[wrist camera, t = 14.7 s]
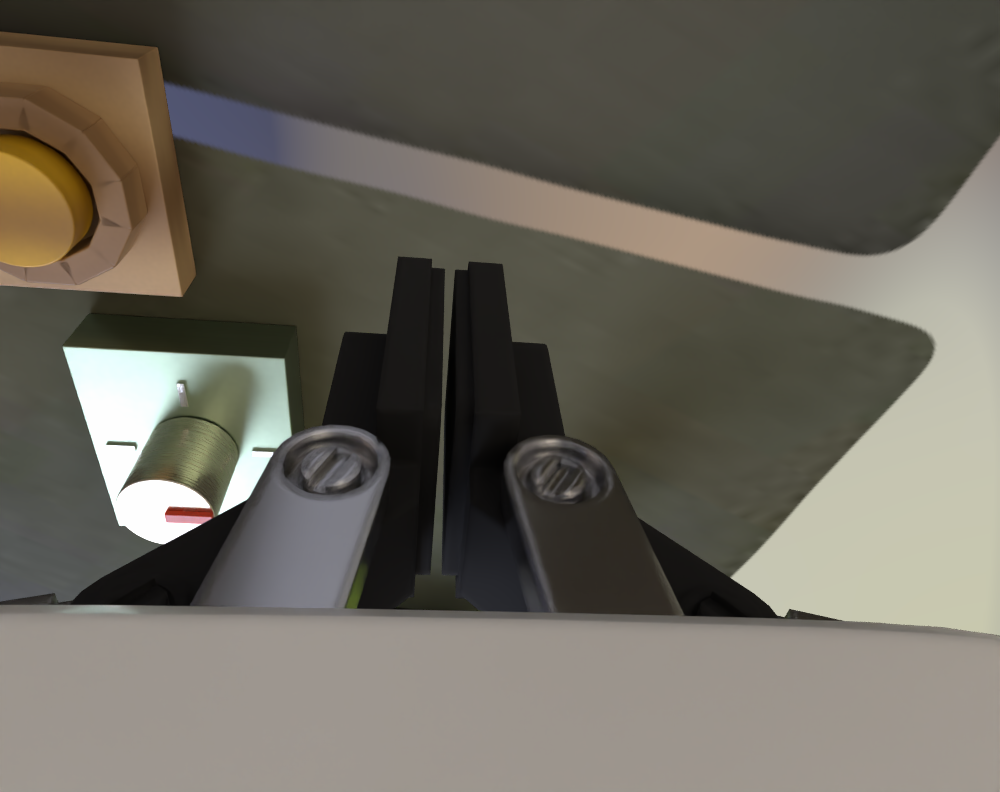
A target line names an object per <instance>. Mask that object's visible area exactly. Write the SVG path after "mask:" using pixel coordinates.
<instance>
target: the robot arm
mask: <svg viewBox="0 0 1000 792" xmlns="http://www.w3.org/2000/svg"><path fill="white" fill-rule="evenodd" d="M444 281H445V269H440V268H432V259H426V258H412V257H398V262H397V269H396V276H395V282H394V289H393V296H392V303H391V310H390V317H389V324H388V331H387V334H374V333H358V332H345V333H344V336H343V339H342V343H341V348H340V352H339V356H338V360H337V364H336V369H335V373H334V377H333V381H332V385H331V390H330V394H329V398H328V402H327V406H326V411H325V415H324V419H323V423H322V426H318V427H312V428H309V429H306V430H303V431H301V432H298V433H295V434H294V435H292V436H291V437H289V438H288V439H286V440H285V441H283V442H282V443H281V444H280V446H279V447H278V448H277V449H276V451H275V452H274V453H273V455H272V456H271V458H270V460H269V462H268V464H267V465H266V467H265V469H264V471H263V473H262V475H261V476H260V478H259V480H258V482H257V484H256V486H255V487H254V489H253V491H252V493H251V495H250V497H249V498H248V499H247V500H245V501H243V502H242V503H240V504H238V505H236V506H234V507H232V508H230V509H229V510H227V511H225V512H223V513H221V514H219V515H217V516H216V517H214V518H212V519H210V520H208V521H206V522H204V523H203V524H201V525H199V526H197V527H195V528H193V529H191V530H189V531H188V532H186V533H184V534H182V535H180V536H178V537H176V538H175V539H173V540H171V541H169V542H167V543H165V544H163V545H162V546H160V547H158V548H156V549H154V550H152V551H150V552H149V553H147V554H145V555H143V556H141V557H139V558H137V559H136V560H134V561H132V562H130V563H128V564H126V565H124V566H123V567H121V568H119V569H117V570H115V571H113V572H111V573H110V574H108V575H106V576H104V577H102V578H101V579H99V580H98V581H96V582H95V583H93V584H92V585H90V586H89V587H87V588H86V589H84V590H83V591H81V593H80V594H79V595H78V596H77V597H76V598H75V599H74V600H73V601H66V602H60V603H59V602H58V600H57V598H56V595H55V593H53V594H47V595H40V596H34V597H27V598H21V599H14V600H8V601H1V602H0V792H1000V636H999V635H993V634H985V633H978V632H971V631H964V630H957V629H951V628H944V627H931V626H914V625H898V624H886V623H871V622H852V621H842V620H837V619H832V618H828V617H823V616H819V615H814V614H810V613H805V612H801V611H796V610H791V609H789V611H788V613H787V615H786V616H785V617H781V616H777V615H776V614H775V613H774V612H773V610H772V609H771V608H770V606H769V605H767V604H766V603H765V602H764V601H762V600H761V599H760V598H759V597H757V596H756V595H755V594H754V593H752V592H751V591H749V590H748V589H746V588H745V587H743V586H742V585H740V584H738V583H737V582H735V581H734V580H733V579H731V578H729V577H728V576H726V575H725V574H723V573H722V572H720V571H719V570H717V569H716V568H714V567H713V566H711V565H710V564H708V563H707V562H705V561H703V560H702V559H700V558H699V557H697V556H696V555H694V554H693V553H691V552H690V551H688V550H687V549H685V548H684V547H682V546H680V545H679V544H677V543H676V542H674V541H673V540H671V539H670V538H668V537H667V536H665V535H664V534H662V533H661V532H659V531H658V530H656V529H654V528H653V527H651V526H650V525H648V524H647V523H645V522H644V521H642V520H641V519H639V518H638V517H637V515H636V513H635V511H634V509H633V507H632V505H631V503H630V501H629V499H628V496H627V494H626V492H625V490H624V488H623V486H622V484H621V482H620V480H619V478H618V476H617V473H616V471H615V469H614V468H613V466H612V465H611V463H610V462H609V460H608V459H607V458H606V456H604V455H603V454H602V453H601V452H599V451H598V450H597V449H596V448H594V447H593V446H591V445H589V444H586V443H584V442H582V441H580V440H578V439H574V438H570V437H566V436H565V434H564V429H563V424H562V419H561V413H560V408H559V403H558V398H557V393H556V388H555V383H554V378H553V373H552V368H551V363H550V358H549V352H548V348H547V345H545V344H538V343H522V342H512V337H511V329H510V321H509V313H508V305H507V297H506V289H505V281H504V272H503V265H502V264H494V263H481V262H469V264H468V270H455V278H454V292H453V305H452V319H451V332H450V346H449V359H448V373H447V387H446V400H445V419H444V474H443V532H442V575H456V598H465V599H466V600H467V601H469V602H470V603H471V604H472V605H473V606H475V607H476V608H477V609H478V610H479V611H447V610H395V609H394V608H395V607H397V606H398V605H399V604H401V603H402V602H403V601H405V600H406V599H407V598H409V597H414V586H415V574H418V575H430V570H431V555H432V541H433V527H434V513H435V498H436V484H437V470H438V456H439V442H440V427H441V407H442V369H443V325H444Z"/></svg>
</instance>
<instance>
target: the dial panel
mask: <svg viewBox="0 0 1000 792" xmlns="http://www.w3.org/2000/svg"><path fill="white" fill-rule="evenodd" d="M62 348H63V351H64V354H65V357H66V360H67V363H68V366H69V370H70V373H71V376H72V379H73V382H74V385H75V388H76V392H77V395H78V398H79V401H80V404H81V407H82V411H83V414H84V417H85V420H86V423H87V426H88V429H89V433H90V436H91V439H92V442H93V445H94V448H95V451H96V455H97V458H98V461H99V464H100V467H101V470H102V473H103V477H104V480H105V483H106V486H107V489H108V492H109V496H110V499H111V502H112V505H113V508H114V511H115V514H116V518H117V521H118V524H119V525H120V526H125V525H124V524H123V522H122V521H121V520H120V518H119V516H118V514H117V511H116V499H117V496H118V494H119V492H120V490H121V488H122V487H123V485H124V483H125V481H126V479H127V477H128V475H129V474H130V472H131V470H132V468H133V466H134V464H135V462H136V461H137V459H138V457H139V455H140V453H141V451H142V449H143V448H144V446H145V444H146V442H147V440H148V438H149V436H150V435H151V433H152V431H153V430H154V429H155V428H156V427H157V426H158V425H159V424H161V423H162V422H165V421H167V420H170V419H173V418H180V417H190V418H197V419H201V420H205V421H208V422H210V423H212V424H214V425H216V426H218V427H220V428H221V429H223V430H224V431H225V432H226V433H227V434H228V435H229V436H230V437H231V438H232V439H233V441H234V443H235V444H236V447H237V450H238V463H237V465H236V468H235V471H234V474H233V476H232V479H231V482H230V485H229V487H228V490H227V493H226V495H225V498H224V501H223V504H222V506H221V509H220V512H219V514H221V513H223V512H225V511H227V510H229V509H230V508H232V507H234V506H236V505H238V504H240V503H242V502H243V501H245V500H247V499H248V498H249V497H250V495H251V493H252V491H253V489H254V487H255V486H256V484H257V482H258V480H259V478H260V476H261V475H262V473H263V471H264V469H265V467H266V465H267V464H268V462H269V460H270V458H271V456H272V455H273V453H274V452H275V451H276V449H277V448H278V447H279V446H280V444H281V443H282V442H283V441H285V440H286V439H288V438H289V437H291V436H292V435H294V434H295V433H298V432H301V431H303V430H304V418H303V406H302V393H301V380H300V368H299V355H298V343H297V330H296V326H285V325H269V324H252V323H236V322H220V321H203V320H187V319H171V318H155V317H138V316H122V315H106V314H88V315H87V316H86V318H85V319H84V320H83V321H82V323H81V324H80V325H79V326H78V327H77V329H76V330H75V331H74V332H73V333H72V335H71V336H70V337H69V338H68V340H67V341H66V342H65V343H64V344H63V346H62Z"/></svg>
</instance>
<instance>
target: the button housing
mask: <svg viewBox="0 0 1000 792" xmlns="http://www.w3.org/2000/svg"><path fill="white" fill-rule="evenodd" d="M0 134H12V135H18V136H23V137H27V138H30V139H33V140H35V141H38V142H40V143H42V144H44V145H46V146H48V147H50V148H51V149H53V150H54V151H56V152H57V153H59V154H60V155H61V156H63V157H64V158H65V159H66V160H67V161H68V162H69V163H70V164H71V165H72V166H73V167H74V168H75V169H76V171H77V172H78V173H79V175H80V176H81V177H82V179H83V181H84V182H85V184H86V186H87V188H88V190H89V193H90V196H91V199H92V205H93V218H92V223H91V226H90V228H89V230H88V232H87V233H86V235H85V236H84V237H83V238H82V239H81V240H80V241H79V242H78V243H77V244H76V245H75V246H74V247H73V248H72V249H71V250H70V251H69V252H68V253H67V254H66V255H65V256H64V257H63V258H61V259H60V260H58V261H57V262H55V263H52V264H50V265H46V266H41V267H20V266H14V265H10V264H6V263H3V262H0V285H5V286H21V287H36V288H52V289H67V290H83V291H98V292H114V293H129V294H145V295H160V296H176V297H183V295H184V294H185V292H186V290H187V289H188V287H189V286H190V284H191V283H192V281H193V279H194V278H195V276H196V270H195V264H194V258H193V252H192V246H191V240H190V234H189V228H188V223H187V217H186V211H185V205H184V199H183V193H182V187H181V181H180V175H179V170H178V164H177V158H176V152H175V146H174V140H173V134H172V129H171V123H170V117H169V111H168V105H167V99H166V93H165V87H164V81H163V75H162V69H161V64H160V58H159V52H158V48H157V47H150V46H140V45H130V44H120V43H110V42H100V41H90V40H81V39H71V38H61V37H51V36H41V35H31V34H21V33H11V32H1V31H0Z"/></svg>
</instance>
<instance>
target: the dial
mask: <svg viewBox="0 0 1000 792" xmlns="http://www.w3.org/2000/svg"><path fill="white" fill-rule="evenodd" d="M237 463H238V450H237V447H236V444H235V443H234V441H233V439H232V438H231V437H230V436H229V435H228V434H227V433H226V432H225V431H224V430H223V429H221V428H220V427H218V426H216V425H214V424H212V423H210V422H208V421H205V420H201V419H197V418H190V417H180V418H173V419H170V420H167V421H165V422H162V423H161V424H159V425H158V426H157V427H156V428H155V429H154V430H153V431H152V433H151V435H150V436H149V438H148V440H147V442H146V444H145V446H144V448H143V449H142V451H141V453H140V455H139V457H138V459H137V461H136V462H135V464H134V466H133V468H132V470H131V472H130V474H129V475H128V477H127V479H126V481H125V483H124V485H123V487H122V488H121V490H120V492H119V494H118V496H117V499H116V511H117V514H118V516H119V518H120V520H121V521H122V522H123V524H124V525H125V526H126V527H127V528H128V529H130V530H131V531H132V532H134V533H135V534H137V535H139V536H140V537H142V538H145V539H147V540H150V541H153V542H156V543H160V544H165V543H167V542H169V541H171V540H173V539H175V538H176V537H178V536H180V535H182V534H184V533H186V532H188V531H189V530H191V529H193V528H195V527H197V526H199V525H201V524H203V523H204V522H206V521H208V520H210V519H212V518H214V517H216V516H217V515H219V512H220V509H221V506H222V504H223V501H224V498H225V495H226V493H227V490H228V487H229V485H230V482H231V479H232V476H233V474H234V471H235V468H236V465H237Z"/></svg>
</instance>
